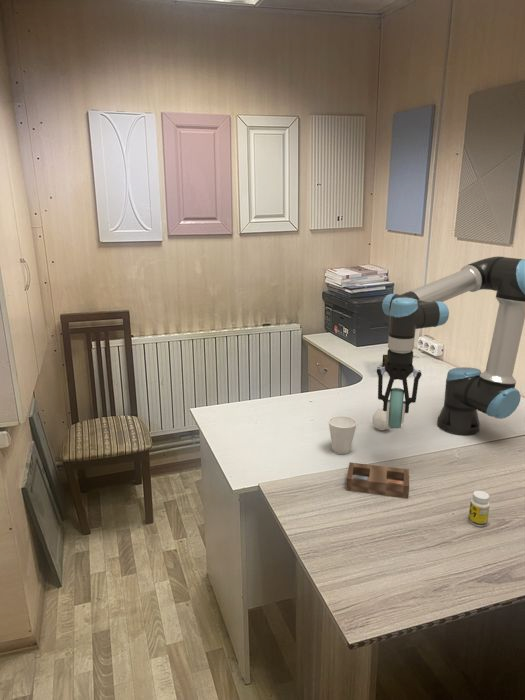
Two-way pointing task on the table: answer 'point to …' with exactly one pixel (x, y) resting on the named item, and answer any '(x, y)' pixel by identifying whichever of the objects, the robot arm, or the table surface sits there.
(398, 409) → the plug
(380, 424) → the beige round lump
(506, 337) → the robot arm
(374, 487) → the socket block
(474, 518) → the supplement bottle
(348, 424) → the cup
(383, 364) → the wooden crate
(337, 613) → the table surface
